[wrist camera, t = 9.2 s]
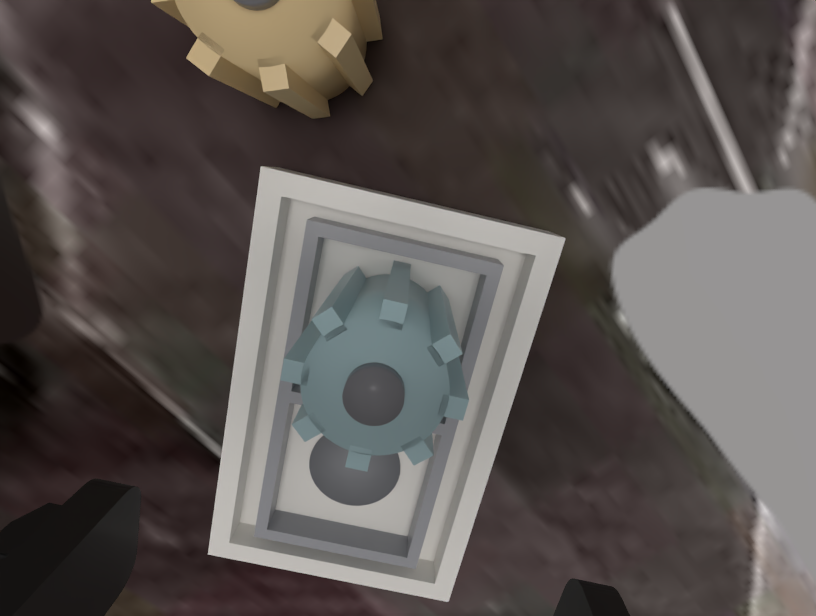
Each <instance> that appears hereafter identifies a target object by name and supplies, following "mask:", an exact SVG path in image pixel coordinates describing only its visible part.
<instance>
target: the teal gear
mask: <svg viewBox="0 0 816 616" xmlns="http://www.w3.org/2000/svg"><path fill="white" fill-rule="evenodd" d="M410 270H411V264H408V263H404V262H399V261H395V260H394V262H393V266H392V269H391V273H390V274H383V275H376V276H371V277H368V278H366V277H365V275H364V274H363V272H362V271H361V269H360V268H359V266H357V267H356V268H354V269H352V270H351V271H349V272H348V273H346V274H344V275H343V277H342V278H341V280H340V281H339V282H338V284H337V285H336V286H335V288H334V289H333V290H332V292H331V293H330V294H329V296H328V297H327V299H326V300H325V301H324V303H323V304H322V305H321V307H320V308H319V309H318V311H317V312H316V314H315V315H314V316H313V318H312V319H311V320H312V321H311V322H310V323H309V325H308V326H307V328H306V329H305V330H304V332H303V333H302V334H301V336H300V337H299V339H298V340H297V341H296V343H295V344H294V345H293V347H292V348H291V350H290V351H289V352H288V354H287V355H286V356H285V358H284V361H283V367H282V373H281V379H280V380H281V381H286V382H290V383H295V384H299V385H300V387H301V397H302V401H303V403H302V405H301V407H300V409H299V411H298V413H297V415H296V417H295V419H294V421H293V423H292V426H293V427H294V428H295V430H296V431H297V432H298V434H299V435H300V436H301V438H302V439H303V440H304V442H306V441H308V440H310V439H312V438H313V437H315V436H317V435H319V434H320V433H322V434H323V435H324V436H325V437H326V438H327V439H329V440H330V441H332V442H333V443H334V444H336V445H338V446H340V447H342V448H344V449H346V450H349V452H348V456H347V461H346V465H345V467H347V468H352V469H356V470H361V471H366V472H367V471H368V467H369V462H370V458H371V455H376V456H380V455H390V454H395V453H399V452H402V451H404V452H405V454H406V455H407V456H408V458H409V459H410V461H411V462H412V464H413V465H416V464H418V463H420V462H422V461H424V460H426V459H428V458H430V457H431V456H433V455H434V454H433V438H432V432H433V431H434V430H435V429H436V427H437V426H438V425H439V423H440V422H441V420H442V418H443V416H444V417H448V418H453V419H457V420H462V421H463V419H464V416H465V412H466V409H467V406H468V402H469V397H468V393H467V389H466V384H465V380H464V376H463V371H462V367H461V363H460V359H459V356H460V355H462V354H463V353H462V349H461V345H460V341H459V338H458V334H457V330H456V326H455V322H454V318H453V314H452V310H451V306H450V303H449V299H448V297H447V296H446V294H445V292H444V291H443V289H442V288H441V286H440V285H439V286H437V287H436V288H434V289H432V290H431V291H429V292H426V291H425V289H424V288H422V287H421V286H420V285H419V284H417V283H415V282H414V281H412V280H410Z"/></svg>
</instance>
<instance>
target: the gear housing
mask: <svg viewBox="0 0 816 616" xmlns="http://www.w3.org/2000/svg"><path fill="white" fill-rule="evenodd" d="M565 239H566V238H564V237H562V236H559V235H557V234H554V233H552V232H550V231H546V230H541V229H537V228H533V227H529V226H525V225H520V224H516V223H512V222H508V221H503V220H499V219H495V218H491V217H486V216H482V215H478V214H474V213H470V212H465V211H461V210H457V209H453V208H448V207H444V206H440V205H436V204H432V203H427V202H423V201H419V200H415V199H410V198H406V197H402V196H398V195H394V194H389V193H385V192H381V191H377V190H372V189H368V188H364V187H360V186H355V185H351V184H347V183H343V182H339V181H334V180H330V179H326V178H322V177H317V176H313V175H309V174H305V173H301V172H296V171H292V170H288V169H284V168H279V167H266V166H261V169H260V176H259V183H258V191H257V198H256V205H255V213H254V220H253V227H252V235H251V242H250V249H249V257H248V264H247V271H246V279H245V286H244V293H243V301H242V308H241V315H240V323H239V330H238V337H237V345H236V352H235V360H234V367H233V374H232V382H231V389H230V396H229V404H228V411H227V418H226V426H225V433H224V440H223V448H222V455H221V462H220V470H219V477H218V484H217V492H216V499H215V506H214V514H213V521H212V528H211V536H210V543H209V550H208V554H209V555H214V556H219V557H224V558H229V559H234V560H239V561H244V562H249V563H254V564H259V565H264V566H269V567H274V568H279V569H285V570H290V571H295V572H300V573H305V574H310V575H315V576H320V577H325V578H330V579H335V580H340V581H345V582H350V583H355V584H360V585H365V586H370V587H375V588H380V589H385V590H390V591H395V592H400V593H406V594H411V595H416V596H421V597H426V598H431V599H436V600H441V601H446V602H449V599H450V595H451V592H452V589H453V586H454V583H455V580H456V577H457V574H458V571H459V568H460V564H461V561H462V558H463V555H464V552H465V549H466V546H467V543H468V540H469V537H470V533H471V530H472V527H473V524H474V521H475V518H476V515H477V512H478V509H479V506H480V502H481V499H482V496H483V493H484V490H485V487H486V484H487V481H488V478H489V474H490V471H491V468H492V465H493V462H494V459H495V456H496V453H497V450H498V447H499V443H500V440H501V437H502V434H503V431H504V428H505V425H506V422H507V419H508V416H509V412H510V409H511V406H512V403H513V400H514V397H515V394H516V391H517V388H518V385H519V381H520V378H521V375H522V372H523V369H524V366H525V363H526V360H527V357H528V354H529V350H530V347H531V344H532V341H533V338H534V335H535V332H536V329H537V326H538V323H539V319H540V316H541V313H542V310H543V307H544V304H545V301H546V298H547V295H548V292H549V288H550V285H551V282H552V279H553V276H554V273H555V270H556V267H557V264H558V260H559V257H560V254H561V251H562V248H563V245H564V242H565ZM394 260H395V261H399V262H404V263H408V264H411V270H410V280H412V281H414V282H415V283H417V284H419V285H420V286H421V287H422V288H424V289H425V291H426V292H429V291H431V290H432V289H434V288H436V287H437V286H439V285H440V286H441V288H442V289H443V291H444V292H445V294H446V296H447V297H448V299H449V303H450V306H451V310H452V314H453V318H454V322H455V326H456V330H457V334H458V338H459V341H460V345H461V349H462V353H463V354H462V355H460V356H459V359H460V363H461V367H462V371H463V376H464V380H465V384H466V389H467V393H468V397H469V402H468V406H467V409H466V412H465V416H464V419H463V421H462V420H457V419H453V418H448V417H444V416H443V418H442V420H441V422H440V423H439V425H438V426H437V427H436V429H435V430H434V431H433V432H432V438H433V454H434V455H433V456H431V457H430V458H428V459H426V460H424V461H422V462H420V463H418V464H416V465H413V464H412V462H411V461H410V459H409V458H408V456H407V455H406V454H405V452H404V451H402V452H399V453H395V454H390V455H380V456H376V455H371V458H370V462H369V467H368V471H367V472H366V471H361V470H356V469H352V468H347V467H345V465H346V461H347V456H348V452H349V450H346V449H344V448H342V447H340V446H338V445H336V444H334V443H333V442H332V441H330V440H329V439H327V438H326V437H325V436H324V435H323V434H322V433H320V434H319V435H317V436H315V437H313V438H312V439H310V440H308V441H306V442H304V440H303V439H302V438H301V436H300V435H299V434H298V432H297V431H296V430H295V428H294V427H293V426H292V423H293V421H294V419H295V417H296V415H297V413H298V411H299V409H300V407H301V405H302V403H303V401H302V397H301V387H300V385H299V384H295V383H290V382H286V381H281V380H280V379H281V373H282V367H283V361H284V358H285V356H286V355H287V354H288V352H289V351H290V350H291V348H292V347H293V345H294V344H295V343H296V341H297V340H298V339H299V337H300V336H301V334H302V333H303V332H304V330H305V329H306V328H307V326H308V325H309V323H310V322H311V321H312V320H311V319H312V318H313V316H314V315H315V314H316V312H317V311H318V309H319V308H320V307H321V305H322V304H323V303H324V301H325V300H326V299H327V297H328V296H329V294H330V293H331V292H332V290H333V289H334V288H335V286H336V285H337V284H338V282H339V281H340V280H341V278H342V277H343V275H344V274H346V273H348V272H349V271H351V270H352V269H354V268H356V267H357V266H359V268H360V269H361V271H362V272H363V274H364V275H365V277H366V278H368V277H371V276H376V275H383V274H390V273H391V269H392V266H393V262H394Z"/></svg>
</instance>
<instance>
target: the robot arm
mask: <svg viewBox="0 0 816 616" xmlns="http://www.w3.org/2000/svg"><path fill="white" fill-rule="evenodd" d="M140 503H141V491H140V489H139V488H138V487H135V486H130V485H125V484H121V483H116V482H111V481H106V480H101V479H92V480H90V481H89V482H87V483H86V484H85V485H84V486H83V487H81V488H80V489H79V490H78V491H77V492H76V493H75V494H74V495H73V496H72V497H71V498H70V499H68V500H67V501H66V502H65V503H64V504H63V505H57V504H52V503H48V504H46V505H44V506H42V507H40V508H38V509H36V510H34V511H32V512H30V513H28V514H26V515H24V516H22V517H20V518H18V519H16V520H14V521H12V522H11V523H9V524H8V525H7V526H6V527H5V528H4V529H2V530H1V531H0V616H104V615H105V614H106V612H107V611H108V610H109V608H110V607H111V606H112V604H113V603H114V601H115V600H116V599H117V597H118V596H119V594H120V593H121V591H122V590H123V588H124V586H125V584H126V583H127V581H128V578H129V576H130V574H131V572H132V569H133V566H134V563H135V559H136V554H137V543H138V530H139V517H140ZM553 616H630V615H629V613H628V611H627V608H626V606H625V604H624V602H623V600H622V598H621V596H620V594H619V593H618V591H617V590H616V589H615V588H614V587H612V586H607V585H602V584H597V583H592V582H588V581H583V580H578V579H570V580H569V581H568V582H567V584H566V586H565V588H564V591H563V593H562V596H561V598H560V601H559V603H558V605H557V608H556V610H555V613H554V615H553Z"/></svg>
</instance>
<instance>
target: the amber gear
mask: <svg viewBox="0 0 816 616" xmlns="http://www.w3.org/2000/svg"><path fill="white" fill-rule="evenodd" d="M151 3H153V4H154V5H156V6H157V7H159V8H160V9H162V10H163V11H165V12H166V13H168V14H169V15H171V16H173V17H174V18H176V19H177V20H179V21H180V22H182V23H183V24H185V25H186V26H188V27H189V28H190V29H191V30H192V32H193V33H194V34H195V35H196V36H197V37H198V38H197V40H196V42H195V44H194V45H193V47H192V49H191V51H190V52H189V54H188V56H187V57H186V58H187V59H188V60H189V61H190V62H192V63H193V64H194V65H196V66H197V67H198V68H199V69H201V70H202V71H203V72H204V73H206V74H207V75H208V76H210V77H212V78H214V79H216V80H218V81H220V82H222V83H225V84H227V85H229V86H231V87H233V88H235V89H237V90H239V91H241V92H243V93H245V94H247V95H250V96H252V97H254V98H256V99H258V100H260V101H262V102H264V103H266V104H268V105H270V106H273V107H275V108H277V106H278V105H279V103H280V102H283V103H285V104H286V105H288V106H290V107H292V108H294V109H296V110H297V111H299V112H301V113H303V114H305V115H307V116H308V117H310V118H312V119H316V118H323V117H330V111H329V105H328V100H329V99H332V98H334V97H336V96H338V95H340V94H341V93H342V92H344V91H345V90H346V89H347V88H348V87H349V86H350V87H352V88H353V89H354V90H355V91H356V92H358V93H359V94H360V95H361V96H363V95H364V93H365V92H366V90H367V89H368V87H369V86H370V84H371V83H372V82H373V79H372V77H371V75H370V73H369V71H368V69H367V66H366V64H365V62H364V59H365V55H366V49H367V42H369V41H376V40H382V39H383V38H382V30H381V22H380V16H379V12H378V7H377V3H376V0H151Z"/></svg>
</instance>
